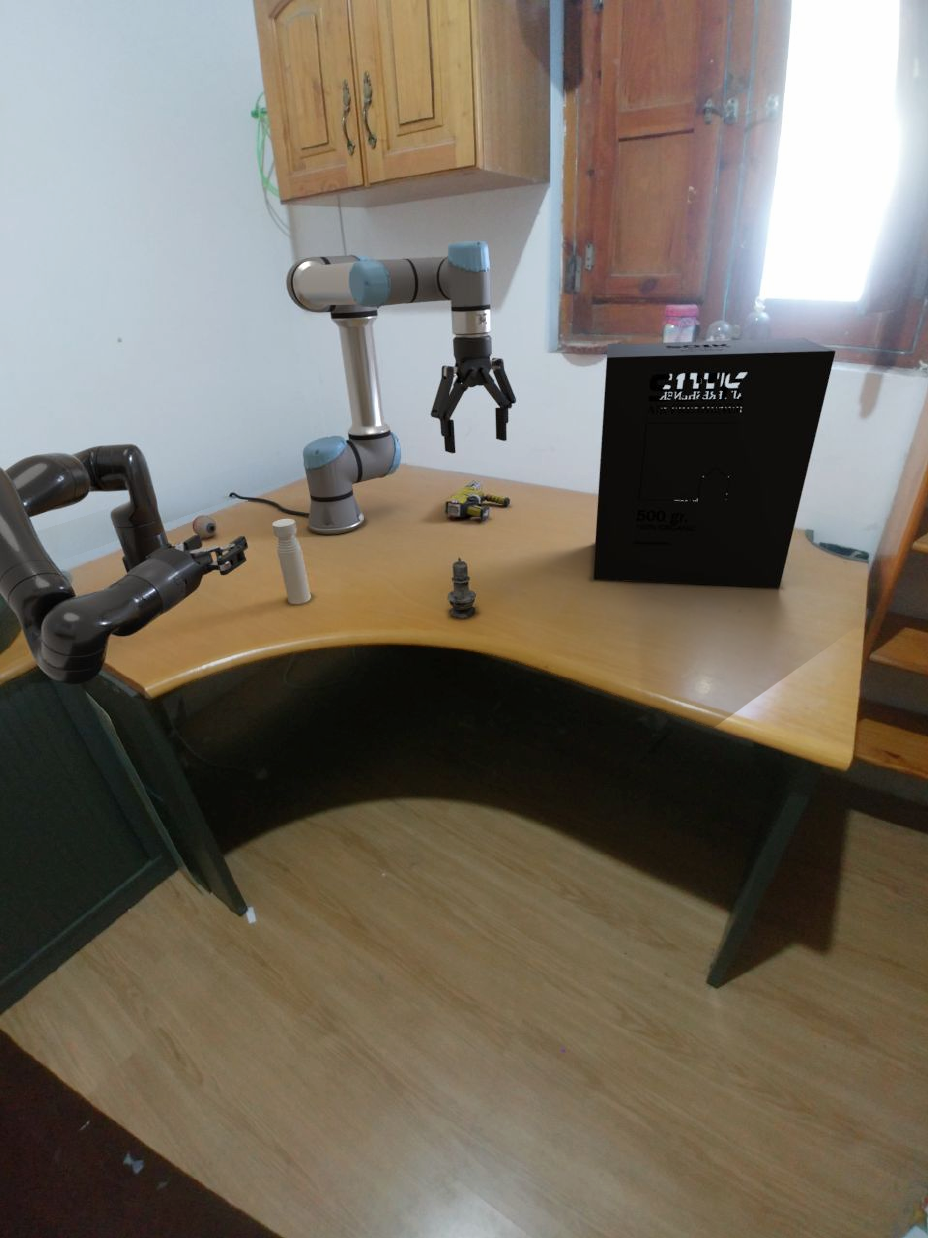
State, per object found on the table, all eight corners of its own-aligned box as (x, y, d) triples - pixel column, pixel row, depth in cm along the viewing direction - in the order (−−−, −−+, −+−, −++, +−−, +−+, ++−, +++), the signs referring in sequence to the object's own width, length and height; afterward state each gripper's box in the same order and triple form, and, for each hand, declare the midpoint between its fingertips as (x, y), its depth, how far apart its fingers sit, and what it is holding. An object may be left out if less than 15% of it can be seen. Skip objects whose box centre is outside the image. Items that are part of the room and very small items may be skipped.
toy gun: (518, 485, 181) (471, 478, 185) (495, 509, 161) (443, 500, 165) (516, 500, 184) (470, 493, 188) (494, 525, 164) (442, 517, 168)
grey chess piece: (474, 619, 120) (471, 564, 114) (445, 617, 121) (441, 563, 115) (479, 605, 124) (477, 551, 118) (451, 603, 126) (448, 550, 120)
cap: (296, 527, 126) (294, 517, 125) (297, 535, 122) (295, 524, 121) (274, 531, 125) (272, 520, 124) (274, 538, 121) (272, 528, 120)
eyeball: (206, 542, 163) (200, 521, 160) (191, 538, 166) (185, 518, 163) (224, 534, 167) (218, 514, 164) (209, 531, 170) (203, 510, 167)
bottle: (310, 592, 134) (295, 518, 125) (311, 602, 130) (296, 526, 121) (288, 596, 133) (271, 522, 124) (289, 606, 129) (272, 530, 120)
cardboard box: (759, 548, 141) (803, 338, 119) (779, 587, 124) (835, 350, 102) (595, 543, 149) (607, 344, 126) (593, 579, 132) (607, 357, 109)
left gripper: (127, 603, 91) (191, 559, 105) (210, 608, 88) (265, 562, 102) (110, 558, 88) (178, 518, 101) (196, 561, 85) (254, 520, 98)
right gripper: (429, 342, 108) (437, 460, 118) (533, 329, 120) (532, 437, 131) (407, 340, 113) (417, 454, 124) (508, 328, 125) (510, 432, 136)
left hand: (221, 540), depth 102 cm, fingers open, 8 cm apart
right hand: (476, 445), depth 127 cm, fingers open, 13 cm apart
